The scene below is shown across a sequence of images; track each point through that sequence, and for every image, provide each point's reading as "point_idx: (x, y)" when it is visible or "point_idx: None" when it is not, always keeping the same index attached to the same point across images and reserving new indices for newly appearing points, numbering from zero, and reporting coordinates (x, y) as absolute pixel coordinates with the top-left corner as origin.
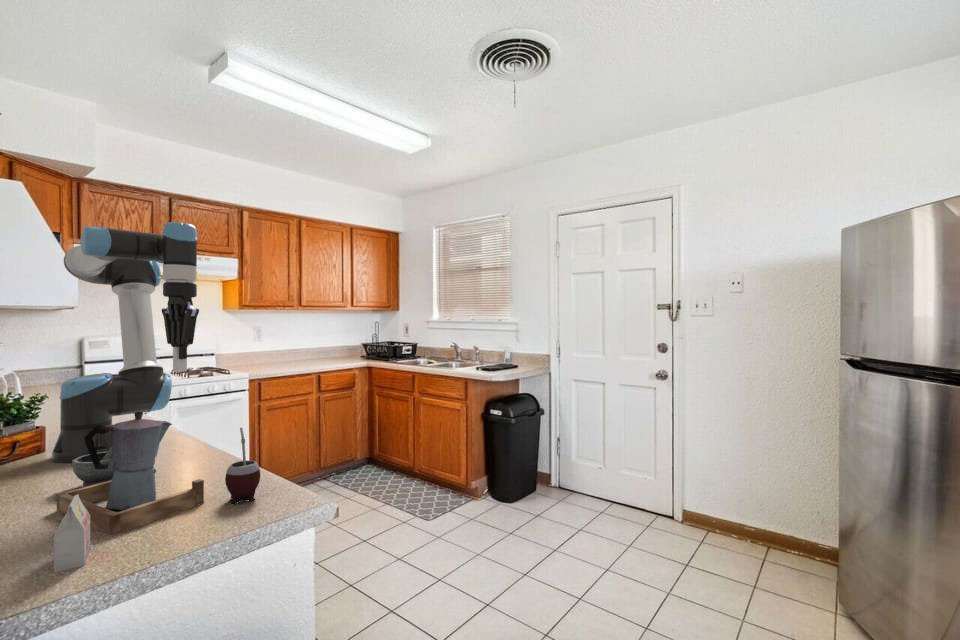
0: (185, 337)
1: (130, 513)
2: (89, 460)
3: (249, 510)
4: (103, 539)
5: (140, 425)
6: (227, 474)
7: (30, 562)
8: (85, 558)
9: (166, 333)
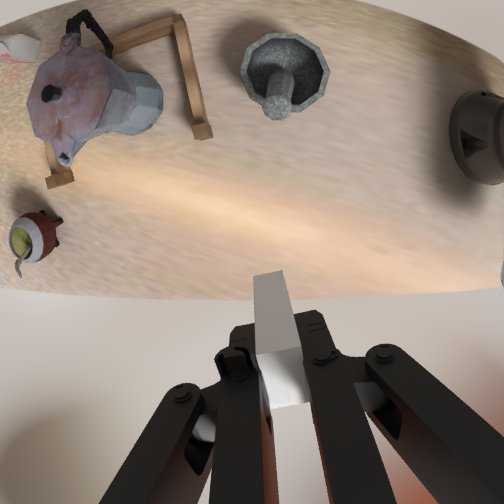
0: (148, 432)
1: None
2: (317, 66)
3: None
4: None
5: (34, 98)
6: (24, 217)
7: (46, 20)
8: (13, 62)
9: (443, 393)
